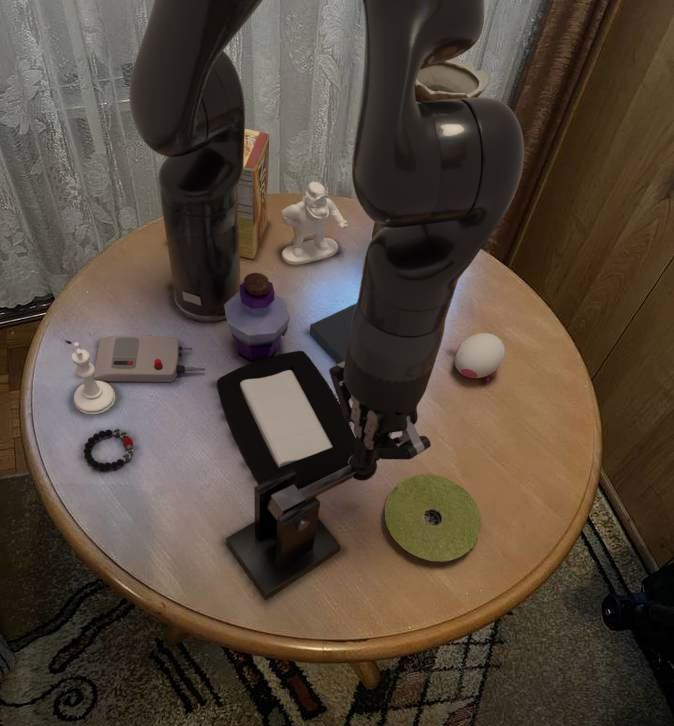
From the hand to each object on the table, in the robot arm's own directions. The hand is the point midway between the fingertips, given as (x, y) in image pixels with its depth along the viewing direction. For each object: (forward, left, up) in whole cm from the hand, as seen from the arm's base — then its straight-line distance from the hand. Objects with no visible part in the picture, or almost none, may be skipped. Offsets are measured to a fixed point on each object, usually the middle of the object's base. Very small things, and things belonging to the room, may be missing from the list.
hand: (365, 457), depth 69 cm
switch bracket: (0, -10, -10) cm, 14 cm away
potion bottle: (-27, +4, -10) cm, 29 cm away
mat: (+7, +6, -10) cm, 14 cm away
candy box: (-46, +15, -10) cm, 50 cm away
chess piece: (-30, -18, -10) cm, 36 cm away
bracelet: (-22, -20, -10) cm, 31 cm away
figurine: (-38, +21, -10) cm, 45 cm away
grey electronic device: (-32, -10, -10) cm, 35 cm away
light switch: (-14, 0, -10) cm, 17 cm away
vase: (-28, +31, -10) cm, 43 cm away
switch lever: (0, -5, -2) cm, 6 cm away
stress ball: (-8, +27, -10) cm, 30 cm away
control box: (-19, +16, -10) cm, 27 cm away
